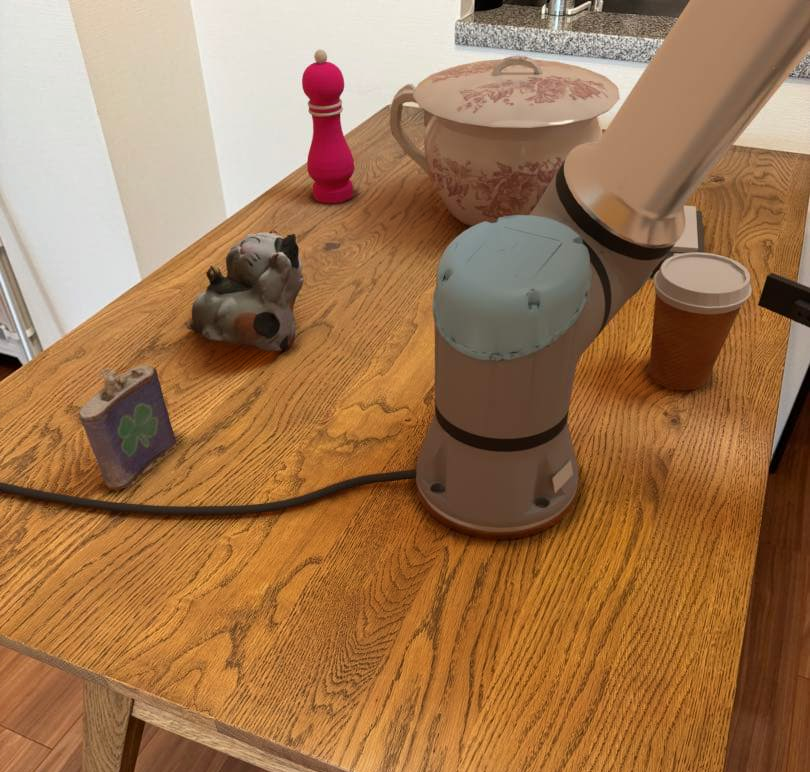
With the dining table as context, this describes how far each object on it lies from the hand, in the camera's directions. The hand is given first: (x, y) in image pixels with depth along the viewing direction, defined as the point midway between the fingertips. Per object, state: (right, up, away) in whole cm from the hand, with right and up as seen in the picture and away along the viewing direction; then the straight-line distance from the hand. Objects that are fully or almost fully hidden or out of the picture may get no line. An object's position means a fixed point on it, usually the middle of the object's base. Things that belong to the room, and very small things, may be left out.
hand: (809, 263), depth 69 cm
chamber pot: (-21, +24, +47) cm, 57 cm away
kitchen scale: (-4, +16, +38) cm, 42 cm away
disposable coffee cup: (-6, -6, +17) cm, 19 cm away
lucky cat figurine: (-55, 0, +26) cm, 60 cm away
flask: (-62, -17, +9) cm, 65 cm away
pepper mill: (-47, +30, +54) cm, 77 cm away
